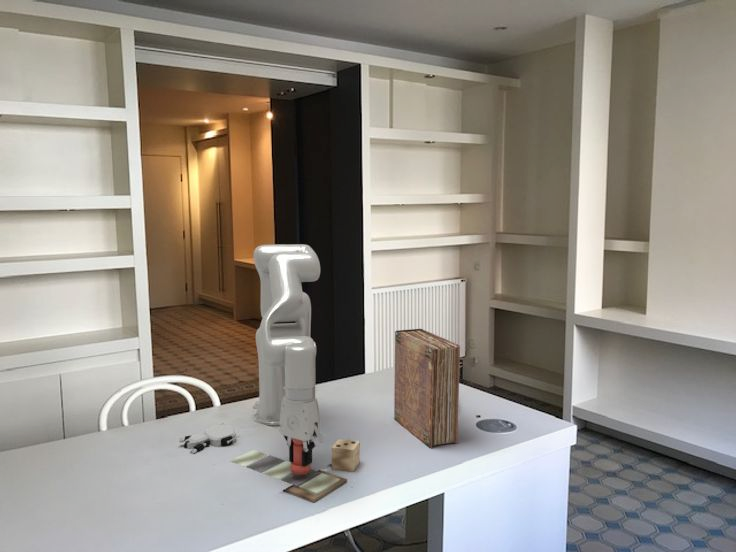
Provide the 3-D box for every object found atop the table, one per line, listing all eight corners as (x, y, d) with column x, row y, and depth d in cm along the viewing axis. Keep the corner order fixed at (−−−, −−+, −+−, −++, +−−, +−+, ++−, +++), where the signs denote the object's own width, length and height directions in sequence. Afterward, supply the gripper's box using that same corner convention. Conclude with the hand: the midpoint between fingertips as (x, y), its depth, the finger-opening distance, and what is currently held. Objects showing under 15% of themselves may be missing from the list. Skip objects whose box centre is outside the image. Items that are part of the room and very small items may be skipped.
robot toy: (192, 463, 163) (242, 447, 172) (190, 448, 162) (241, 432, 171) (177, 448, 173) (226, 433, 182) (176, 434, 172) (225, 419, 181)
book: (457, 444, 175) (460, 345, 172) (430, 449, 172) (432, 348, 168) (418, 416, 198) (420, 328, 195) (393, 419, 195) (395, 330, 191)
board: (222, 467, 158) (221, 462, 158) (257, 451, 169) (257, 446, 169) (313, 502, 140) (313, 497, 140) (346, 482, 151) (346, 476, 151)
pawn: (286, 471, 150) (286, 428, 149) (299, 464, 154) (299, 422, 153) (301, 476, 147) (301, 433, 146) (314, 469, 151) (314, 427, 150)
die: (331, 469, 158) (331, 447, 157) (338, 459, 164) (338, 438, 163) (353, 471, 157) (353, 449, 156) (359, 462, 162) (359, 440, 162)
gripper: (265, 390, 150) (266, 459, 152) (316, 403, 140) (316, 476, 143) (286, 383, 156) (286, 449, 158) (335, 395, 147) (335, 465, 149)
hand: (300, 461), depth 150 cm, fingers closed on pawn, 3 cm apart
